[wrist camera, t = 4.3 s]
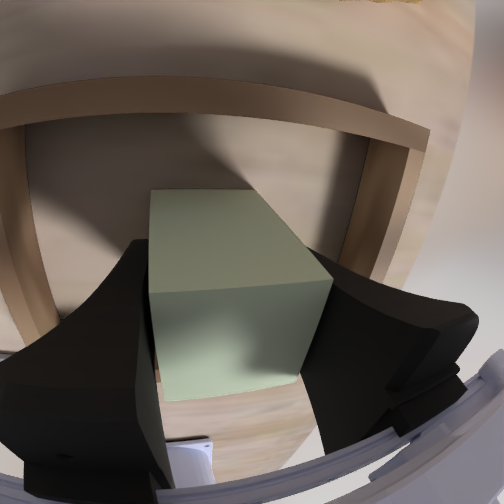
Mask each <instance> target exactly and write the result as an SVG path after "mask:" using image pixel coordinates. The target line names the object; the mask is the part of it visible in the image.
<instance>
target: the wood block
mask: <svg viewBox="0 0 504 504" xmlns="http://www.w3.org/2000/svg"><path fill="white" fill-rule="evenodd" d="M332 283H333V278H332V276H331V275H330V274H329V273H328V272H327V271H326V269H325V268H324V267H323V266H322V265H321V264H320V262H319V261H318V260H317V259H316V258H315V257H314V255H313V254H312V253H311V252H310V251H309V250H308V248H307V247H306V246H305V245H304V244H303V243H302V242H301V240H300V239H299V238H298V237H297V236H296V235H295V234H294V232H293V231H292V230H291V229H290V228H289V227H288V226H287V225H286V223H285V222H284V221H283V220H282V219H281V218H280V217H279V216H278V214H277V213H276V212H275V211H274V210H273V209H272V208H271V207H270V206H269V205H268V203H267V202H266V201H265V200H264V199H263V198H262V197H261V196H260V195H259V194H258V192H257V191H256V190H240V189H160V190H151V200H150V221H149V299H150V308H151V317H152V325H153V332H154V340H155V346H156V353H157V359H158V366H159V372H160V377H161V383H162V388H163V393H164V398H165V402H169V401H181V400H191V399H200V398H208V397H216V396H223V395H230V394H236V393H242V392H248V391H254V390H260V389H265V388H270V387H275V386H280V385H284V384H289V383H294V382H296V379H297V377H298V374H299V372H300V370H301V367H302V365H303V362H304V360H305V357H306V355H307V352H308V349H309V347H310V344H311V342H312V339H313V336H314V334H315V331H316V328H317V326H318V323H319V320H320V317H321V315H322V312H323V309H324V306H325V303H326V300H327V297H328V294H329V292H330V289H331V286H332Z"/></svg>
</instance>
